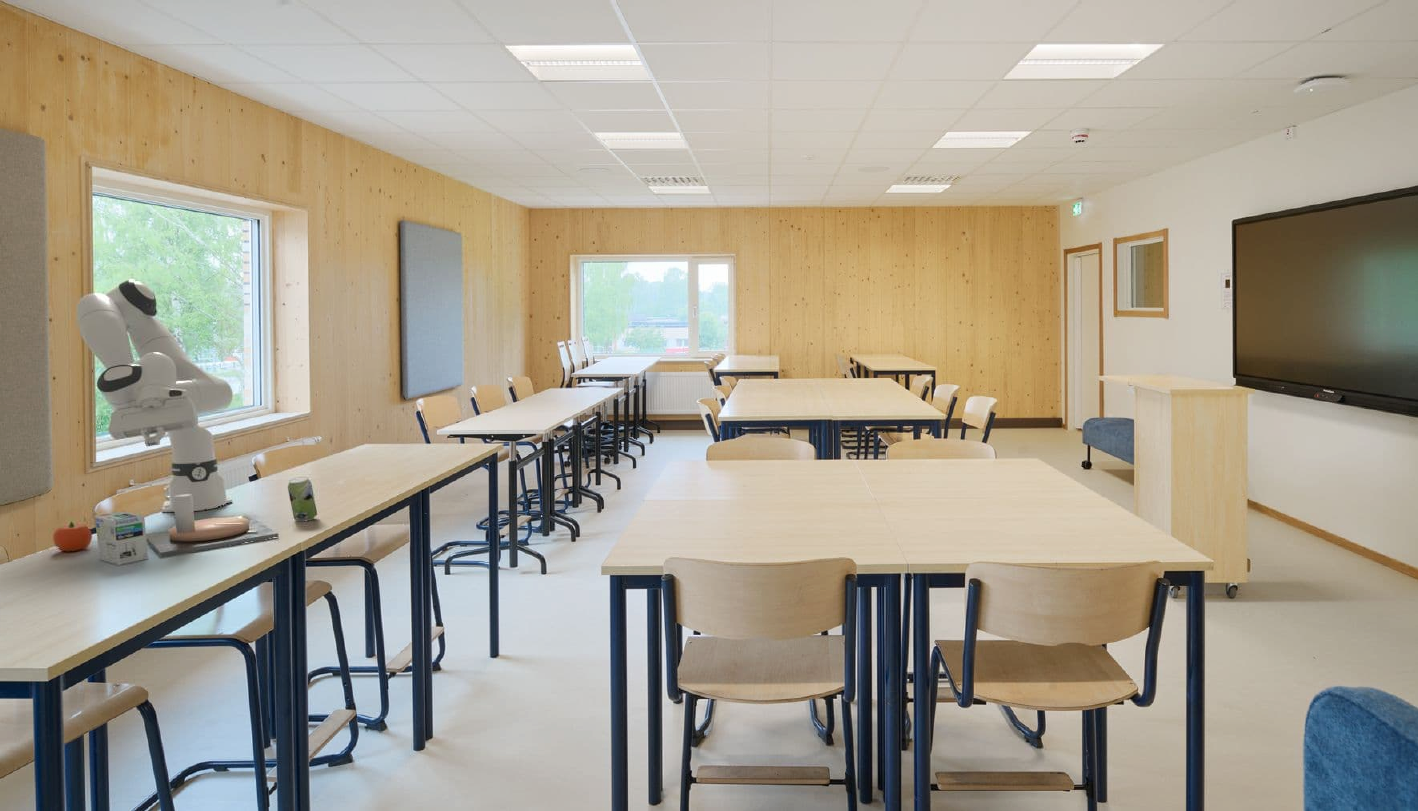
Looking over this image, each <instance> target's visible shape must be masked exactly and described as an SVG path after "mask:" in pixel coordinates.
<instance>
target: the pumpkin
mask: <svg viewBox="0 0 1418 811" xmlns="http://www.w3.org/2000/svg"><path fill="white" fill-rule="evenodd" d="M52 537H53V538H52V539H53V540H52V541H53V543H54V546H55V547H56V548H57V547H59V548H57V549H58V551H60V552H63V551H67V553H71V552H70V551H72V552H77V550H79V551H81V549H82V550H84V549H86V548H88V547H89V545H90V544H91V542H92V539H93V534H92V530H91V529H90V528H89V527H88V526H87V525H86V524H77V523H76V524H74V522H73V520H72V521H71V522H70V523H69V524H68V525H64V526H61V527H58V528H56V529H55V531H54V533H53V536H52Z"/></svg>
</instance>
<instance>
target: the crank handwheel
mask: <svg viewBox="0 0 1418 811" xmlns="http://www.w3.org/2000/svg"><path fill="white" fill-rule="evenodd" d="M174 509H175V512H174V517H175V518H174V520H175V525H174V526H171V527H170V528H169V529H168V530H169V537H170V539H171V540H174V541H203V540H212V539H219V538H224V537H229V536H233V535H237V534H240V533H243V532H245V531H247V530H248V529H249V520H248V519H246V518H241V517H234V516H231V517H230V516H226V517H211V518H203V519H196V520H195V516H194V515H195V514H194V512H195V511H193V501H192V495H191V494H185V495H178V496H174Z"/></svg>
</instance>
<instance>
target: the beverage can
mask: <svg viewBox="0 0 1418 811" xmlns="http://www.w3.org/2000/svg"><path fill="white" fill-rule="evenodd" d="M312 484H313V483H312V481H311V480H310V479H309V478H308V477H306V476H301V477H300V476H299V477H294V478H292V479H290V480H289V481H288V485H287V491H288V496H289V500H290V501H289V502H290V506H291V511H292V515H293V519H294V521H295V520H296V521H297V520H299V521H298V522H301V521H302V522H306V521H305V520H308V521H311V520H313V519H315V517H316V516H317V515H318V511H317V505H316V501H315V494H314V490H313V485H312ZM310 519H311V520H310Z"/></svg>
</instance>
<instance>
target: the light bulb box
mask: <svg viewBox="0 0 1418 811" xmlns="http://www.w3.org/2000/svg"><path fill="white" fill-rule="evenodd" d="M94 522H95V528H96V529H95V531H96V538H97V540H96V541H97V547H98V558H99V559H100V560H101V561H104V562H108V563H111V564H114V565H118V566H120V565H121V566H122V565H125V564H129V563H135V562H138V561H145V560H148V559H149V551H148V543H147V540H146V534H147V533H146V522H145V515H144V514H139V513H133V512H129V511H125V510H123V511H121V510H120V511H116V512H110V513H103V514H97V515H94Z"/></svg>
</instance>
